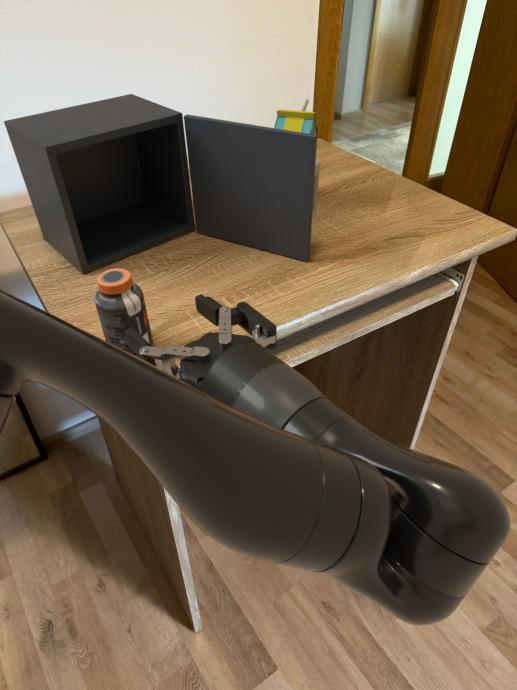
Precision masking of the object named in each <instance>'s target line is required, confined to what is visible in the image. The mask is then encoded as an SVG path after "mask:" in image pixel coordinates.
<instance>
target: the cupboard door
mask: <svg viewBox="0 0 517 690" xmlns="http://www.w3.org/2000/svg"><path fill="white" fill-rule="evenodd" d="M183 125H184V134H185V142H186V151H187V160H188V169H189V178H190V187H191V196H192V205H193V214H194V223H195V232H196V233H199V234H202V235H206V236H210V237H213V238H218V239H221V240H224V241H229V242H233V243H236V244H240V245H244V246H247V247H251V248H253V249H259V250H262V251H266V252H270V253H272V254H277V255H282V256H284V257H287V258H292V259H296V260H298V261H303V262H309V260H310V258H311V242H312V227H313V220H314V219H315V218H316V217H317V215H318V201H319V187H320V171H321V160H319V159H317V149H316V146H318V134H317V135H314V134H307V133H301V132H295V131H288V130H282V129H276V128H274V127H268V126H262V125H256V124H250V123H244V122H239V121H233V120H225V119H218V118H212V117H205V116H199V115H195V114H185V115H183Z"/></svg>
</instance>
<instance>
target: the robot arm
mask: <svg viewBox="0 0 517 690" xmlns="http://www.w3.org/2000/svg"><path fill="white" fill-rule="evenodd" d="M194 302H195V309H196V312H197V313H198V314H199V315H201V316H202V317H203V318H204V319H206V320H207V321H208V322H210V323H211V324H213V325H214V326H215V327H216V328H217V327H218V332H217V331H216V332H215V331H214V332H211V331H209V332H207V333H205V334H203V335H202V336H201V337H200V338H198V339H195V340H192V341H190V342H188V343H186V344H184V345H183V346H182V345H174V344H167V345H165V347H159V346H150V343H149V342H148V341H146V340H145V339H144V338H143V337H142V336H141V335H140V334H139V333H138V332H137V331H136V330H134V329H133V328H132V327H131V328H129V329H127V330H125V333H126V336H124V341H125V344H126V348H127V351H128V352H129V353H128V352H127V351H125V350H123V349H121V348H119V347H117V346H115V345H113V344H111V343H109V342H107V341H106V340H105V339H102V338H101V337H98V336H97V335H94V334H92V333H91V332H88V331H86V330H85V329H82V328H81V327H78V326H76V325H74V324H72V323H71V322H69V321H66V320H65V319H62V318H60V317H59V316H56V315H54V314H52V313H50V312H49V311H46V310H44V309H42V308H40V307H38V306H36V305H34V304H32V303H29V302H28V301H26V300H23V299H21V298H20V297H17V296H15V295H13V294H11V293H9V292H7V291H5V290H3V289H1V288H0V435H1V434H2V433H3V430H4V428H5V425H6V423H7V420H8V418H9V415H10V414H11V411H12V408H13V407H14V404H15V402H16V400H17V398H16V396H17V395H19V392H20V390H21V388H22V387H23V385H24V384H26V383H28V382H33V383H37V384H39V385H42V386H43V387H47V388H49V389H51V390H53V391H55V392H58V393H59V394H62V395H63V396H65V397H67V398H69V399H71V400H73V401H74V402H76V403H77V404H79V405H81V406H83V407H84V408H86V409H87V410H88V411H89V412H91V413H93V414H94V415H95V416H97V417H98V418H99V419H100V420H101V421H103V422H104V423H105V424H106V425H107V426H108V427H110V428H111V429H112V430H113V431H114V432H115V433H116V434H117V435H118V436H119V437H120V438H121V439H122V440H123V441H124V443H126V445H127V446H128V447H130V448H129V449H131V450H132V451H133V452H134V453H135V454H136V455H137V457H138V458H139V459H140V460H141V461H142V463H143V464H144V465H145V466H146V468H148V470H149V471H150V472H151V474H153V476H154V477H155V478H156V479H157V481H158V482H159V483H160V485H161V486H162V487H163V488H164V490H165V491H166V492H167V494H168V495H169V496H170V497H171V499H172V500H173V502H174V503H176V505H177V506H178V507H179V508H180V509H181V510H182V512H183V513H184V514H185V515H186V516H187V517H188V519H190V521H191V522H193V524H194V525H195V526H196V527H197V528H199V530H201V531H202V532H203V533H204V534H206V536H208V537H209V538H211V539H213V540H214V541H215V542H217V543H218V544H220V545H222V546H224V547H225V548H226V549H229V550H231V551H234V552H235V553H238V554H239V555H242V556H246V557H249V558H252V559H254V560H259V561H264V562H268V563H273V564H277V565H281V566H285V567H289V568H295V569H299V570H303V571H308V572H312V573H318V574H322V575H325V576H328V577H329V578H331V579H333V580H335V581H337V582H339V583H341V584H342V585H344V586H345V587H348V588H349V589H350V590H352V591H354V592H356V593H357V594H359V595H361V596H363V597H364V598H366V599H368V600H369V601H371V602H373V603H374V604H376V605H377V606H378V607H380V608H381V609H383V610H384V611H386V612H387V613H389V614H390V615H391V616H393V617H394V618H396V619H397V620H400V621H401V622H403V623H406V624H409V625H412V626H429V625H435V624H438V623H440V622H442V621H445V620H446V619H447V618H449V617H450V616H452V614H453V613H455V611H456V610H457V609H458V607H459V606H460V605H461V604H462V602H463V601H464V599H465V598H466V597H467V595H468V594H469V592H470V591H471V589H472V588H473V587H474V585H475V584H476V582H477V581H478V580H479V578H480V577H481V575H482V574H483V573H484V571H485V570H486V568H487V567H488V566H489V564H490V563H491V562H492V560H493V559H494V557H496V555H497V553H498V552H499V551H500V549H501V548H502V546H503V545H504V544H505V542H506V540H507V538H508V536H509V535H510V531H511V526H512V523H511V517H510V516H511V515H510V512H509V510H508V508H507V505H506V504H505V502H504V500H503V498H502V497H501V495H500V494H499V493H498V491H497V490H496V489H495V487H493V486H492V485H491V484H490V483H489V482H488V481H487V480H485V479H484V478H483V477H481V476H479V475H478V474H477V473H474V472H472V471H470V470H469V469H465V468H464V467H461V466H459V465H457V464H454V463H451V462H449V461H447V460H444V459H440V458H438V457H435V456H432V455H429V454H426V453H423V452H420V451H419V450H416V449H412V448H410V447H408V446H406V445H403V444H401V443H399V442H397V441H394V440H392V439H390V438H388V437H386V436H384V435H383V434H381V433H379V432H377V431H375V430H374V429H372V428H370V427H369V426H367V425H365V424H364V423H363V422H361V421H360V420H359V419H357V418H356V417H354V416H353V415H351V414H350V413H349V412H347V410H345V409H344V408H342V407H341V406H339V405H338V404H337V403H335V402H334V401H332V400H331V399H330V398H328V397H327V396H326V395H325V394H324V393H323V392H322V391H321V390H320V389H319V388H318V387H317V386H316V385H315V384H314V383H313V382H311V381H310V380H309V379H308V378H307V377H305V376H304V375H302V374H301V373H300V372H299V371H297V370H296V369H294V368H293V367H291V366H290V365H289V364H288V363H286V362H285V361H283V360H282V359H281V358H279V357H278V356H277V355H275V354H274V353H272V351H271V350H274V349H276V348H277V345H278V343H277V341H278V339H277V338H278V336H277V335H278V332H277V330H278V329H277V328H278V327H277V325H276V324H275V323H274V322H272V320H270V319H269V318H267V317H266V316H264V315H263V314H262V313H261V312H259V311H258V310H257V309H256V308H254V307H253V306H251V305H250V304H249V303H248V302H246V301H238V303H236V306H234V307H230V306H228V305H223V304H221V303H219V302H218V301H217V300H216V299H214V298H213V297H211V296H209V295H204V294H202V293H201V294H199V295H196V296H195V297H194ZM234 326H239V327H240V328H241V329H242V330H244V331H245V333H247V334H248V335H243V334H235V333H233V327H234ZM249 335H250V336H249ZM156 360H159V361H156ZM176 360H179V366H178V365H177V362H176ZM388 482H389V483H390V484H392V486H393V487H395V488H394V490H393V492H392V493H391V489H390V486H389V484H388Z"/></svg>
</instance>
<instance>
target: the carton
mask: <svg viewBox="0 0 517 690" xmlns="http://www.w3.org/2000/svg"><path fill="white" fill-rule="evenodd" d="M309 102H310V100H309V99H307V98H305V99H304V102H303V104H302V107H301V109H300V110H294V109H281V108H280V109H279V108H278V109H277V110H276V119H275V123H274V127H273V128H276V129H282V130H288V131H295V132H301V133H307V134H314V135H317V136H318V131H319V130H318V128H319V127H318V125H317V121H316V120H315V117H316V116H315V115H316V112H315V111H307V110H306V109H307V107H308V105H309ZM317 146H318V145H317ZM317 146H316V150H318V149H317Z"/></svg>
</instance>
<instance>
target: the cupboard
mask: <svg viewBox="0 0 517 690" xmlns="http://www.w3.org/2000/svg"><path fill="white" fill-rule="evenodd" d="M3 125H4V127H5V130H6V132H7V135H8V138H9V142H10V143H11V147H12V150H13V152H14V156H15V159H16V162H17V165H18V167H19V170H20V173H21V176H22V180H23V182H24V184H25V188H26V191H27V194H28V197H29V199H30V203H31V205H32V209H33V211H34V215H35V217H36V220H37V223H38V225H39V229H40V232H41V234H42V238H43V240H44V241H45V242H46V243H47V244H48V245H49V246H50V247H52V248H53V249H54V250H55V251H56V252H58V254H60V255H61V256H62V257H63V258H64V259H65V260H66V261H67V262H68V263H70V264H71V266H73V267H74V268H75V269H76V270H77V271H78V272H79V273H81V275H87V274H89V273H91V272H94V271H96V270H98V269H102V268H104V267H107V266H109V265H112V264H114V263H116V262H119V261H122V260H124V259H127V258H129V257H132V256H134V255H137V254H139V253H141V252H144V251H147V250H149V249H152V248H154V247H157V246H159V245H162V244H165V243H167V242H169V241H172V240H174V239H177V238H179V237H182V236H185V235H186V234H189V233H192V232H196V223H195V214H194V205H193V196H192V187H191V178H190V169H189V160H188V151H187V142H186V133H185V124H184V115H183V112H180V111H177V110H176V109H172V108H169V107H167V106H164V105H162V104H159V103H157V102H154V101H151V100H149V99H146V98H143V97H141V96H138V95H135V94H133V93H129V94H123V95H119V96H115V97H110V98H106V99H100V100H96V101H92V102H86V103H82V104H77V105H72V106H69V107H63V108H59V109H54V110H49V111H44V112H40V113H35V114H31V115H26V116H22V117H17V118H12V119H11V118H10V119H6V120H3Z"/></svg>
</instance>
